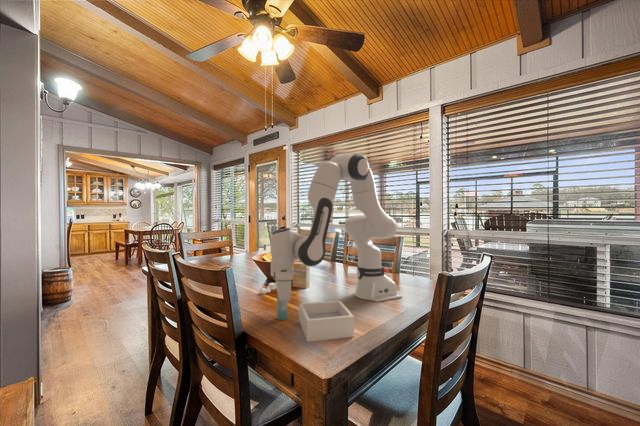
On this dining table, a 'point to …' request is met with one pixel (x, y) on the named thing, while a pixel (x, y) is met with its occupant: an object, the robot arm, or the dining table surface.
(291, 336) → the dining table surface
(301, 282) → the supplement box
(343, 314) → the peg box
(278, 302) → the peg
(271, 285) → the game pieces
